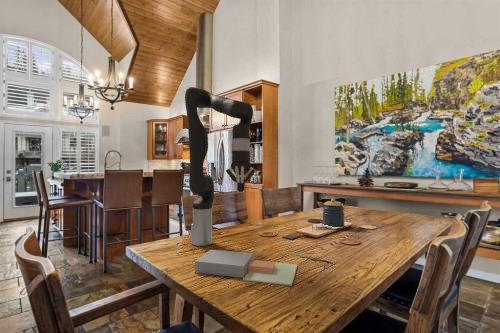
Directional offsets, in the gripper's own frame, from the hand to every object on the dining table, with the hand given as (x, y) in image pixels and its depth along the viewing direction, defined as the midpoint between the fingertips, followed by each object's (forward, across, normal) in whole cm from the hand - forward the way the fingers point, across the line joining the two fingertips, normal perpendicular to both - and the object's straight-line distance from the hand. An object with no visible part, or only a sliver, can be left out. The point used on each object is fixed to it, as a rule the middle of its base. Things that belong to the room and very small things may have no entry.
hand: (241, 191), depth 116 cm
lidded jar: (+27, +38, +67) cm, 82 cm away
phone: (+28, +18, +39) cm, 51 cm away
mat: (+27, +16, -13) cm, 34 cm away
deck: (+27, -2, -13) cm, 30 cm away
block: (+26, +12, -12) cm, 31 cm away
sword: (+28, +25, +8) cm, 38 cm away
